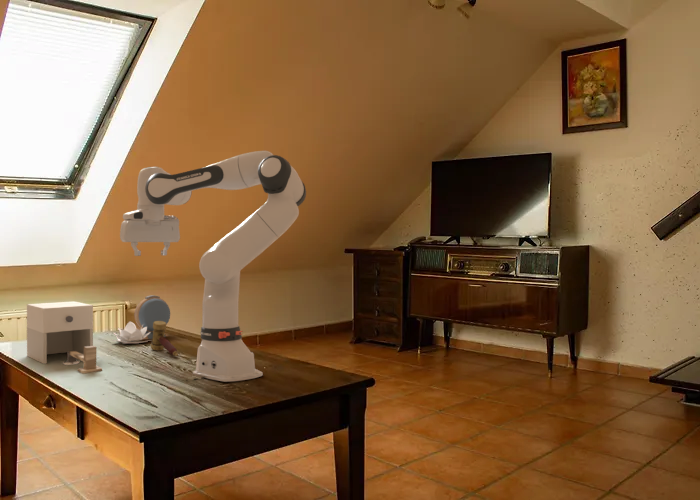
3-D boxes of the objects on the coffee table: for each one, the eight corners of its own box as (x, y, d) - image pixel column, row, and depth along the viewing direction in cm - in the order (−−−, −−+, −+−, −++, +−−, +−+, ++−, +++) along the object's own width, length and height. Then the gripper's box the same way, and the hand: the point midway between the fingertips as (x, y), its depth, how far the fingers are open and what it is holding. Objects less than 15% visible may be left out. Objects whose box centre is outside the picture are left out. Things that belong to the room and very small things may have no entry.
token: (81, 365, 209) (81, 361, 209) (65, 367, 205) (65, 363, 205) (76, 362, 213) (76, 359, 212) (60, 365, 209) (60, 361, 209)
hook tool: (102, 370, 197) (102, 346, 197) (82, 373, 193) (82, 348, 193) (80, 360, 211) (80, 337, 211) (61, 362, 207) (61, 339, 207)
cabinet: (94, 358, 218) (94, 305, 218) (44, 364, 207) (44, 308, 207) (74, 350, 232) (74, 301, 232) (27, 356, 221) (26, 304, 221)
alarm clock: (163, 335, 270) (163, 293, 270) (174, 338, 263) (174, 295, 262) (130, 339, 260) (130, 295, 260) (141, 341, 253) (141, 297, 253)
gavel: (181, 368, 221) (184, 341, 219) (168, 369, 219) (171, 342, 217) (161, 345, 238) (163, 320, 236) (149, 346, 235) (151, 320, 233)
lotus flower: (157, 341, 254) (157, 319, 254) (142, 347, 239) (142, 324, 239) (123, 340, 256) (123, 319, 256) (105, 347, 241) (105, 324, 241)
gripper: (174, 216, 227) (174, 255, 227) (118, 214, 213) (118, 255, 213) (183, 215, 222) (183, 255, 222) (125, 213, 208) (125, 256, 208)
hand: (150, 255), depth 218 cm, fingers open, 8 cm apart
